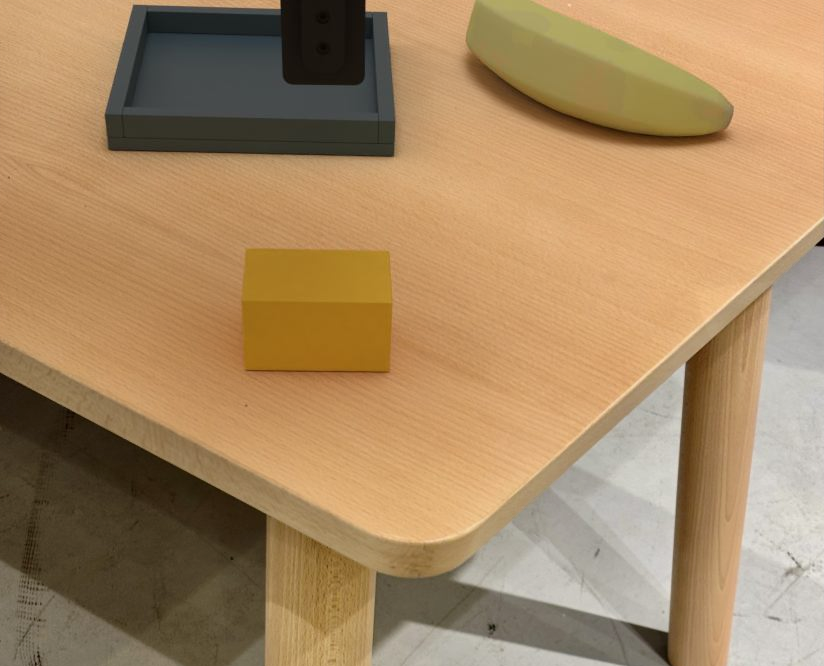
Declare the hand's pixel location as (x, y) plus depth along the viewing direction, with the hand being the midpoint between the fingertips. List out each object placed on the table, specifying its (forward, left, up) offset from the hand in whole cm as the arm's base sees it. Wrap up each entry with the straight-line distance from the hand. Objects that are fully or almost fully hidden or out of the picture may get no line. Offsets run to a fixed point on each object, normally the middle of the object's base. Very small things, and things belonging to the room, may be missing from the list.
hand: (324, 30), depth 58 cm
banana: (+17, +30, -16) cm, 38 cm away
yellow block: (0, 0, -16) cm, 16 cm away
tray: (-4, +27, -16) cm, 32 cm away
